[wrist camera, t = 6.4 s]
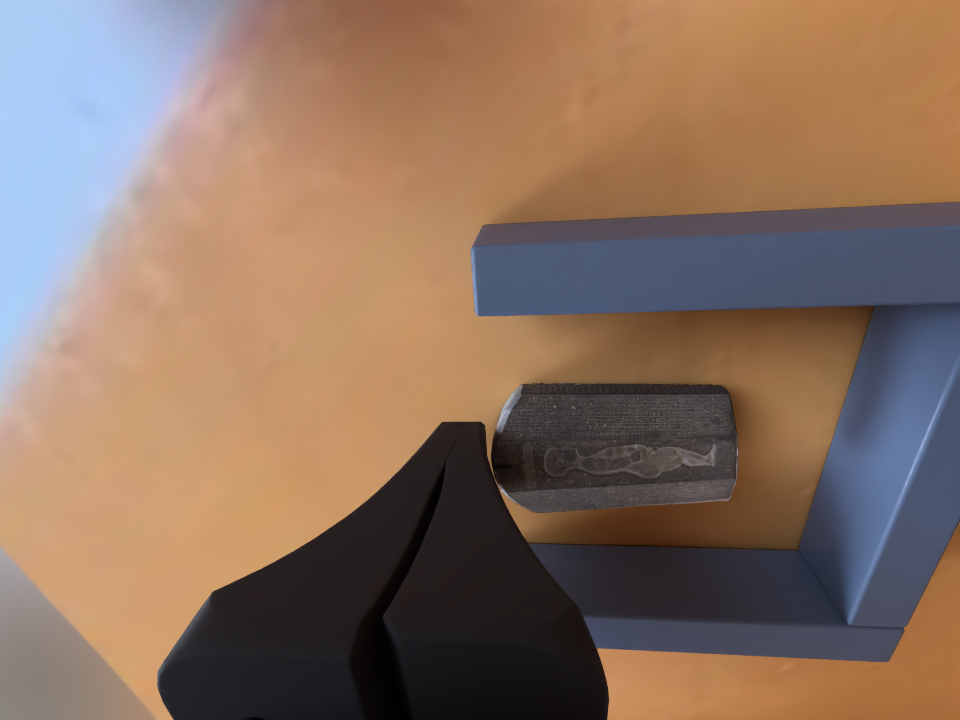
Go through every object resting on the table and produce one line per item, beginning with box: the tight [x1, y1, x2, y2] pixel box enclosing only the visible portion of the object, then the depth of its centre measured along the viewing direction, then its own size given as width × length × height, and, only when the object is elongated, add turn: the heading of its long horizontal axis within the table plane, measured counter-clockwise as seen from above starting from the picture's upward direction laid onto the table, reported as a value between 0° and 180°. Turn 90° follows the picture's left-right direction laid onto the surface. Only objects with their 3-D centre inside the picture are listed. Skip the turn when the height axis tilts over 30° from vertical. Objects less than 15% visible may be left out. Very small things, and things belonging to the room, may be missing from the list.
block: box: [491, 383, 738, 513], centre depth 12 cm, size 4×6×2 cm, turn 102°
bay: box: [471, 202, 960, 662], centre depth 11 cm, size 11×10×2 cm
